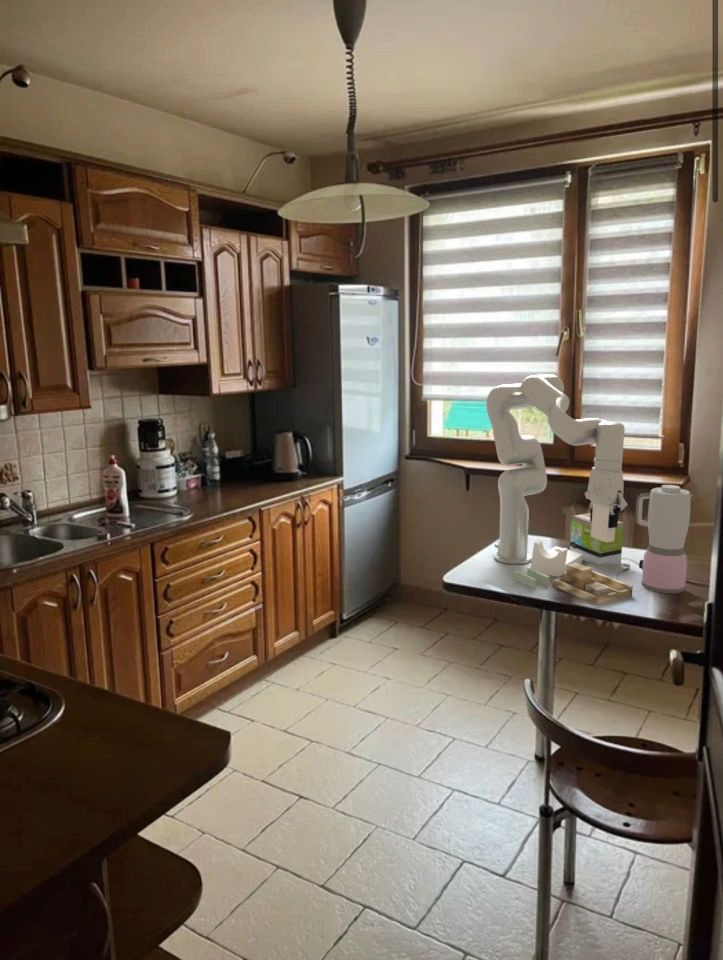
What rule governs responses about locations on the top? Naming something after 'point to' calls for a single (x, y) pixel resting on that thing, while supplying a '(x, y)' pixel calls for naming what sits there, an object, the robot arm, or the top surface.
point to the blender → (665, 538)
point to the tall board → (601, 523)
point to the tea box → (594, 542)
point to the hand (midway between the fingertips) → (603, 523)
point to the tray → (614, 586)
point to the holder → (531, 578)
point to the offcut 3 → (596, 589)
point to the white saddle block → (553, 559)
